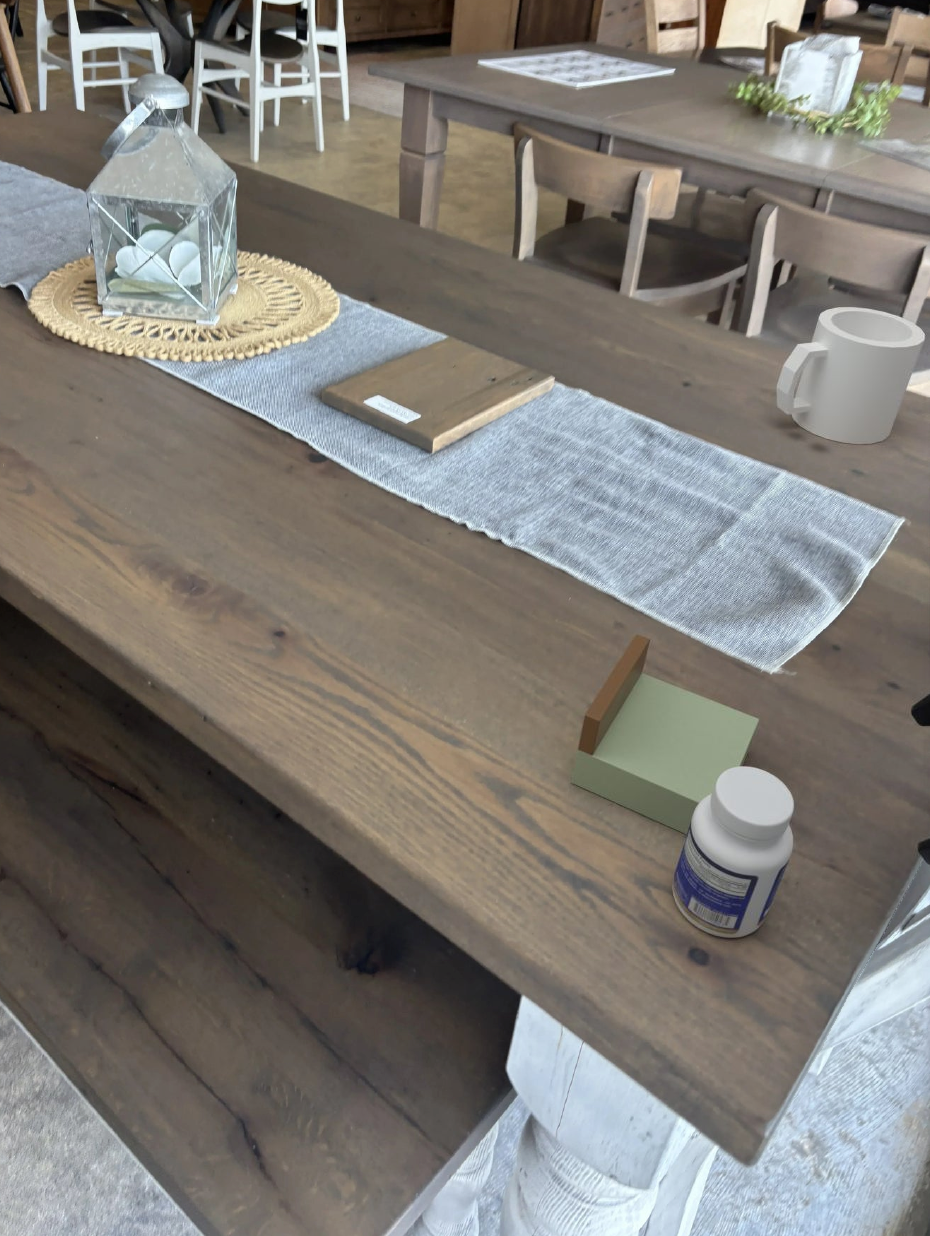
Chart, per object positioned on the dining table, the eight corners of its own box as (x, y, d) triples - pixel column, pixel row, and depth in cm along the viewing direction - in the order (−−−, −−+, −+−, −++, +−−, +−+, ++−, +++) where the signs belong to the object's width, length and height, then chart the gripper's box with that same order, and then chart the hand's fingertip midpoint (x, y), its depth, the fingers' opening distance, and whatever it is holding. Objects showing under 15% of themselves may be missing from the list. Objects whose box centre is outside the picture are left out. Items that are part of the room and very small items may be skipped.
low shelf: (748, 751, 66) (772, 684, 63) (709, 845, 60) (732, 776, 56) (620, 699, 70) (636, 633, 66) (570, 782, 63) (584, 714, 60)
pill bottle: (726, 849, 59) (764, 745, 54) (784, 922, 56) (831, 817, 50) (651, 877, 58) (683, 771, 52) (706, 953, 54) (746, 848, 49)
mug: (804, 453, 100) (835, 355, 94) (745, 408, 108) (770, 314, 102) (911, 437, 104) (948, 342, 98) (847, 394, 112) (877, 303, 106)
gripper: (1171, 406, 44) (833, 550, 53) (1321, 671, 29) (820, 806, 38) (1279, 594, 46) (939, 700, 55) (1466, 923, 32) (964, 993, 41)
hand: (917, 780), depth 47 cm, fingers open, 9 cm apart
